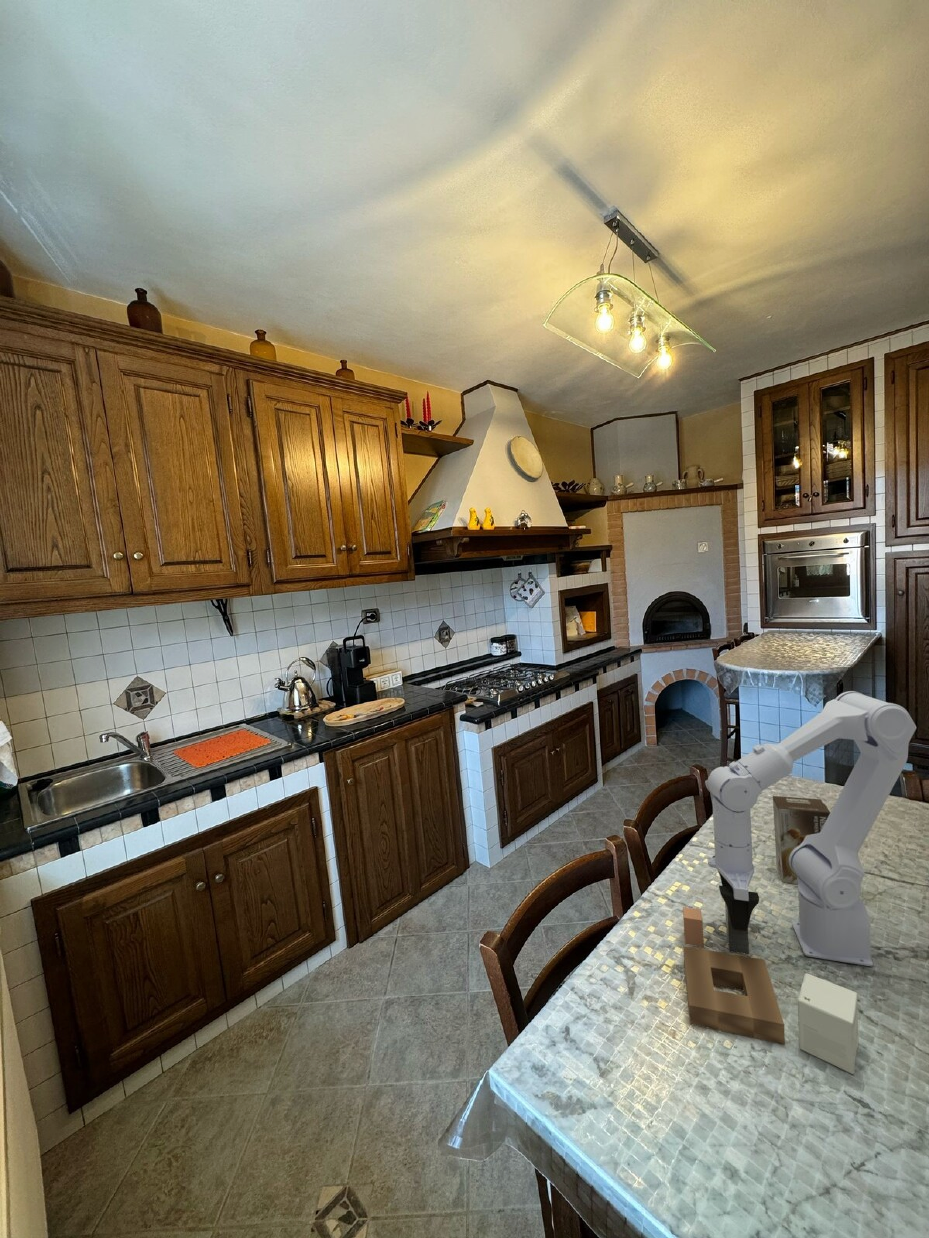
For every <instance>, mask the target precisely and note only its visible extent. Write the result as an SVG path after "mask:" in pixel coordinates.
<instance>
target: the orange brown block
mask: <svg viewBox="0 0 929 1238" xmlns="http://www.w3.org/2000/svg"><path fill="white" fill-rule="evenodd" d="M682 917H683V919H682V921H683V934H684V944H685V945H688V946H694V947H698V948H700V947H701V948H705V942H704V926H703V925H704V923H703V915H702V909H700V908H695V907H687V906H682Z"/></svg>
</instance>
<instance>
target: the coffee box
mask: <svg viewBox="0 0 929 1238" xmlns="http://www.w3.org/2000/svg"><path fill="white" fill-rule="evenodd" d="M772 808H773V823H774V824H773V825H774V845H775V861H776V865H775V866H776V868H777V870H778V873H779V874H778V875H779V876H780V878H781V881H782V883H785V884H793V885H798V882H797V875H796V874H795V873H794V872H793V871H792V869H791V868H790V865H789V857H790V854H791V852H792V851H793V850H794V849H795V848H796V847H798V846H799V845H800V844H801V843H802V842H803V841H804V839H805V837H806V836H807V835H811V834H817V833H820V832H821V830H822V828H823V826H824V824H825V822H826V820H827V818H828V816H829V814H830V812H831V810H829V808H828V806H827V805H826V803H824V802H823V801H822V799H820V798H809V797H808V798H806V797H793V796H782V795H781V796H779V795H772Z"/></svg>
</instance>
